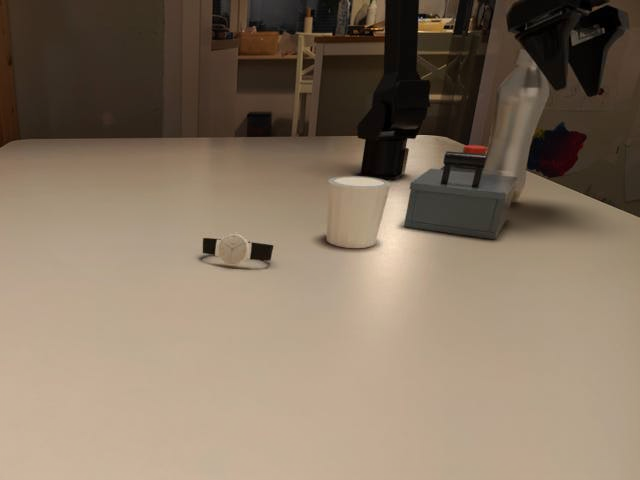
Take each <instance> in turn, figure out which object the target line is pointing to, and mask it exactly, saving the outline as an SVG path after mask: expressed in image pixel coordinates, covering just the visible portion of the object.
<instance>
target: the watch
mask: <svg viewBox="0 0 640 480" xmlns="http://www.w3.org/2000/svg"><path fill="white" fill-rule="evenodd" d="M237 233H238V232H237V231H235V230H234V231H233V233H230V234H227V235H225V236H224V237H222V238H212V237H202V254H204V255H205V254H206V255H212V256H215V257H218V258H219V259H220V260H221V261H222V262H223V263H224V264H226V265H229V266H237V265H238V266H239V265H241V264H242V263H243V262H245V261H246V260H247V261H250V260H254V261H255V260H256V261H265V262H266V261H269V262H270V261H271V260H272V255H273V250H274V244H269V243H260V242H251V241H247V239H246V238H245V237H244V236H242V235H241V234H237Z"/></svg>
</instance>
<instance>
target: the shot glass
mask: <svg viewBox="0 0 640 480" xmlns="http://www.w3.org/2000/svg"><path fill="white" fill-rule="evenodd" d="M327 182H328V183H327V184H328V185H327V186H328V187H327V214H326V215H327V217H326V242H327V243H329V244H330V245H333V246H336V247H341V248H348V249H351V248H352V249H366V248H370V247H373V246H374V245H376V242H377V238H378V235H379V231H380V226H381V224H382V223H381V222H382V219H383V215H384V211H385V207H386V203H387V200H388V196H389V192H390V189H391V182H390V181H389V180H386V179H380V178H372V177H363V176H357V175H346V176H344V175H343V176H337V177H331V178H329V179H328V181H327Z"/></svg>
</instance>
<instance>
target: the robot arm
mask: <svg viewBox="0 0 640 480" xmlns="http://www.w3.org/2000/svg"><path fill="white" fill-rule="evenodd" d="M384 1H385V3H384V9H385V10H384V41H383V42H384V43H383V44H384V45H383V46H384V47H383V50H384V51H383V75H382V77H381V79H380V80H379V82H378V84H377V86H376V88H375V90H374V91H373V95H372V101H371V108H370V109H369V110H368V111H367V112H366V114H365V115H364V116H363V118H362V119H361V120H360V121H359V122H358V123H357V125H356V131H357V138H358V139H359V140H360V139H361V140H364V147H363V153H362V160H361V167H360V171H359V172H357V174H356V176H363V177H372V178H377V179H382V180H388V181H389V180H390V181H395V180H397V179H399V178H401V177H402V176H403V175H404V174H405V173H406V169H407V163H408V157H409V152H410V149H409V148H408V147H407V143H408V140H409V139H410V140H415V139H416V138H417V137H418V134H419V132H420V130H421V128H422V125H423V123H424V121H425V120H426V118H427V116H428V108H431V102H430V93H431V86H432V85H431V81H430V79H422V77H421V75H420V73H419V72H418V45H419V44H418V42H419V41H418V40H419V16H420V15H419V14H420V0H384ZM609 2H610V0H517V1H516V2H513V3H512V5H511V6H510V8H509V10H508V12H507V13H506V14H505V17H506V25H507V32H508V33H511V34H515V35H514V40H515V41H517V42H518V43H519V44H520V46H522V49H525V50H526V52H527V53H528V54H529V55H530V57H531V58H532V59H533V61H534V62H535V63H536V65H537V66H538V67H539V69H540V70H541V72H542V73H543V74H544V76H545V77H546V79H547V82H548V84H550V86H551V87H552V89H553V90H554V91H556V92H558V91H561V90H564V89H565V88H567V85H568V78H569V77H568V75H569V66H570V68H571V70H572V71H573V74H574V75H575V77H576V79H577V81H578V83H579V85H580V86H581V88H582V90H583V91H584V93H585V95H586V96H587V98H592V97H596V96H598V95H599V94H600V92H601V91H600V90H601V87H602V81H603V76H604V72H605V68H606V67H605V66H606V62H607V58H608V55H609V51H610V49H611V47H612V46H613V45H614V44H615V43H616V42H617V40H619V39H621V38H622V37H623V36H624V34H625V33H626V32H627V31H628V30H629V29H630V28H631V27H630V26H631V25H630V17H629V12H627V11H625V10H623V9H620V8H618V7H615V6H613V5H610V4H607V3H609ZM605 4H606V5H605ZM602 5H604V6H602ZM601 6H602V7H601ZM596 7H598V8H597V9H594V10H593V8H596Z"/></svg>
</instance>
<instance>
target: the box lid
mask: <svg viewBox="0 0 640 480" xmlns="http://www.w3.org/2000/svg"><path fill="white" fill-rule="evenodd" d="M462 152H463V151H449V150H448V151H445V154H444V157H443V166H444V170H440V169H441V168H440V169H439V168H429V169H428V170H426V171H425V172H424V173H422V174H421V175H419V176H418V177H416V179H415V178H414V180H413V181H411V182H410V183H409V190H411V189H413V190H422V191H431V192H440V193H448V194H457V195H466V196H475V197H484V198H493V199H501V200H505V198H506V197H507V195H508V194H509V192H510V191H511V189H512V188H513V187H514V185H515V184H516V181H517V177H513V176H503V175H492V174H482V171H483V168H484V167H485V165H486V162H487V157H488V155H486V154H474V153H462ZM452 165H456V166H467V167H476V170H475V173H471V172H461V171H451V166H452Z"/></svg>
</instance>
